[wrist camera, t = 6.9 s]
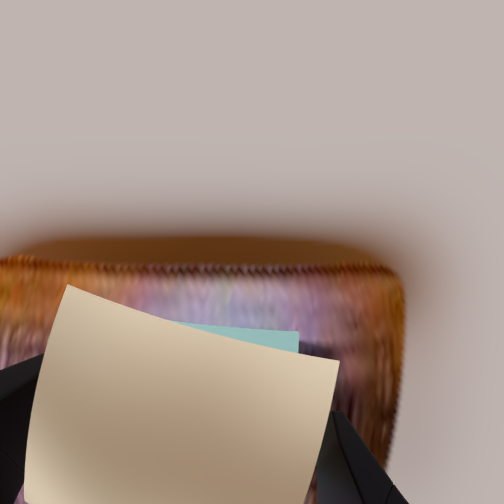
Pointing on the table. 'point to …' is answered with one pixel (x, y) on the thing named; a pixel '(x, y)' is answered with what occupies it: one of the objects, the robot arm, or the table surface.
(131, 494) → the pillar
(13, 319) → the table surface
